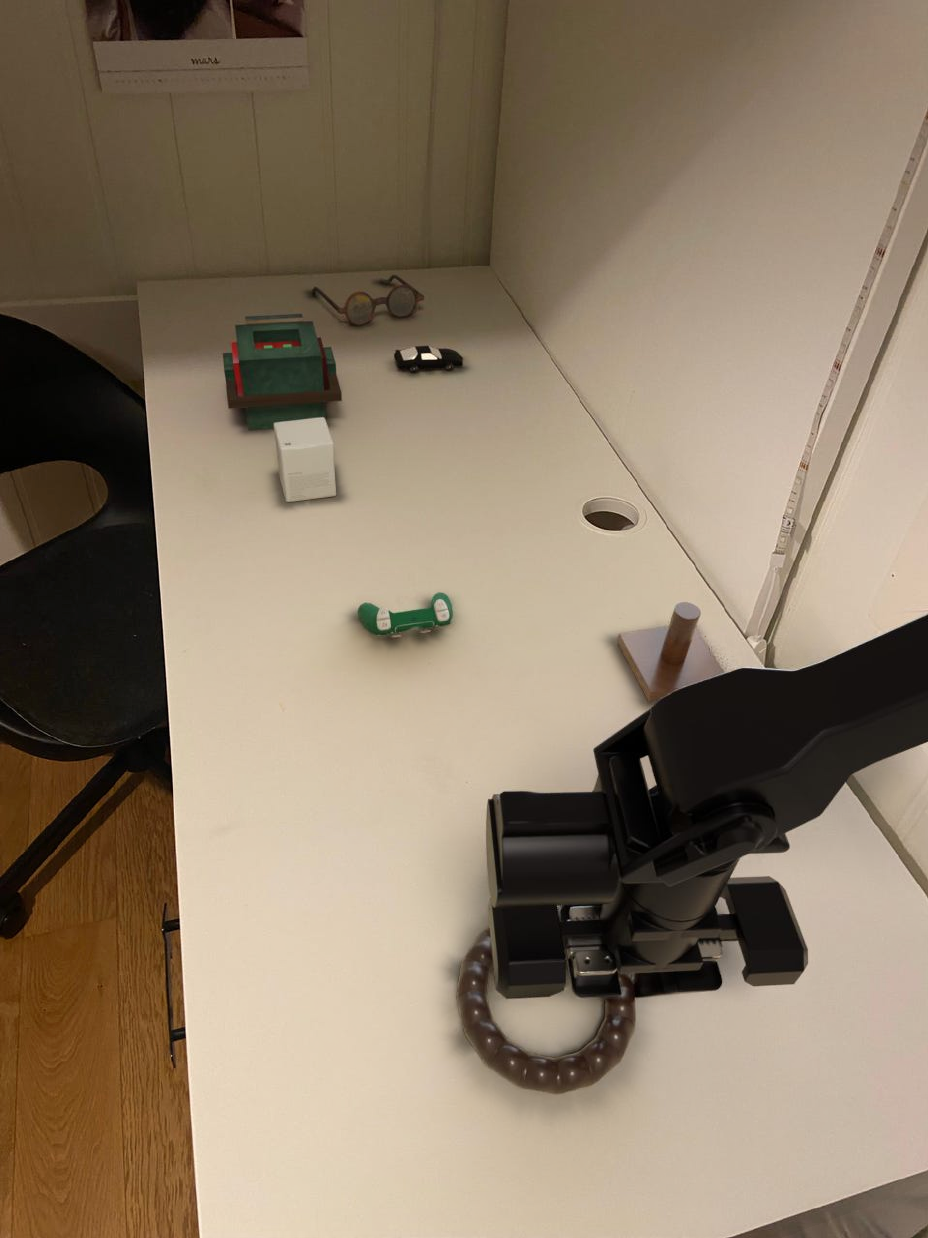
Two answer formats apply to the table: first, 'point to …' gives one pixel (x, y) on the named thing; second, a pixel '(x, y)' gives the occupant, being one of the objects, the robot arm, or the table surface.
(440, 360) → the toy car
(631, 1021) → the ring
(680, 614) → the peg stand
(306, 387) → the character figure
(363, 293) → the eyeglasses
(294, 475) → the product box
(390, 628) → the gaming controller
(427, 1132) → the table surface
